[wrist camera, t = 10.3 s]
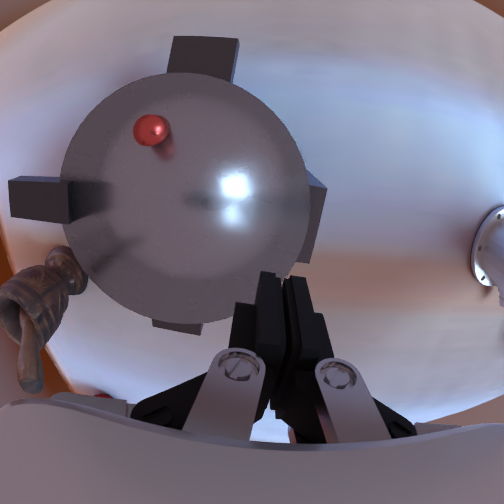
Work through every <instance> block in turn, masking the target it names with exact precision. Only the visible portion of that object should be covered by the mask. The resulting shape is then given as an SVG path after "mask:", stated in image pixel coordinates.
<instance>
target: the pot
mask: <svg viewBox="0 0 504 504" xmlns="http://www.w3.org/2000/svg"><path fill="white" fill-rule="evenodd" d="M239 45H240V44H239V40H238V39H236V38H224V37H206V36H174V38H173V43H172V48H171V53H170V58H169V63H168V68H167V73H195V74H203V75H208V76H211V77H215V78H219V79H222V80H225V81H227V82H230V83H232V84H233V78H234V73H235V67H236V61H237V56H238V51H239ZM306 172H307V176H308V182H309V190H310V217H309V223H308V229H307V233H306V237H305V240H304V243H303V246H302V249H301V251H300V253H299V255H298V257H297V260H296V262H302V263H308V264H309V263H310V259H311V255H312V251H313V247H314V243H315V239H316V235H317V231H318V227H319V223H320V218H321V214H322V210H323V205H324V201H325V197H326V192H327V188H326V187H325V186H324V185H323V184H322V183H321V182H320V181H319V180H318V179H316V178H315V177H314V176H313V175H312V174H311V173H310V172H309V171H308V170H306ZM152 324H153V327H158V328H163V329H168V330H173V331H178V332H183V333H189V334H194V335H201V332H202V328H203V323H199V324H179V323H170V322H164V321H160V320H156V319H152Z"/></svg>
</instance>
